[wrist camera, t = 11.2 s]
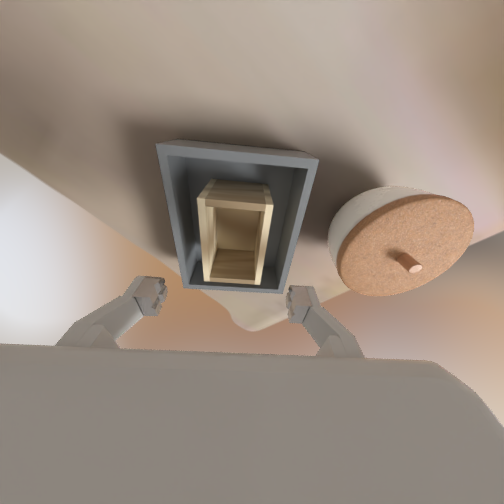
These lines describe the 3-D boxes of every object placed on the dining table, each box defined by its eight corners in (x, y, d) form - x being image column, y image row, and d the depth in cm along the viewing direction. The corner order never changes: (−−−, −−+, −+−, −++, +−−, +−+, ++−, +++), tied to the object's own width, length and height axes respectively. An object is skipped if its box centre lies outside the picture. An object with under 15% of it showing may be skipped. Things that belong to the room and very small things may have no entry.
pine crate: (211, 178, 19) (196, 198, 14) (267, 184, 19) (273, 205, 14) (213, 249, 24) (204, 281, 19) (258, 252, 24) (259, 284, 19)
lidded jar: (299, 214, 22) (325, 263, 14) (392, 150, 18) (496, 169, 10) (337, 265, 27) (372, 322, 19) (417, 223, 23) (501, 274, 15)
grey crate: (177, 138, 17) (155, 143, 13) (304, 151, 18) (319, 159, 14) (194, 262, 26) (183, 288, 22) (277, 268, 27) (282, 293, 23)
